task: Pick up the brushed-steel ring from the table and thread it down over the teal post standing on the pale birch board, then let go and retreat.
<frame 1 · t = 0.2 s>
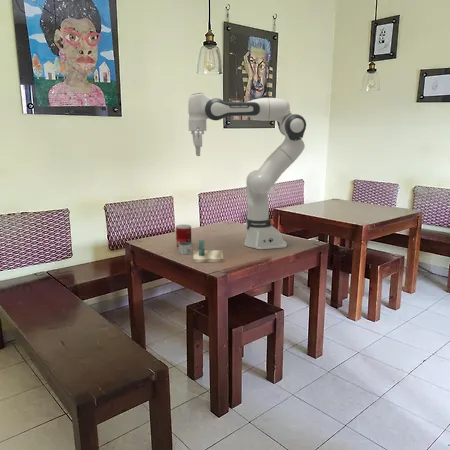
hand: (198, 155, 209), 47 cm above the table, fingers open, 8 cm apart
piston stand: (208, 257, 200), on the table
steel ring: (185, 252, 209), on the table
canned food: (184, 246, 220), on the table
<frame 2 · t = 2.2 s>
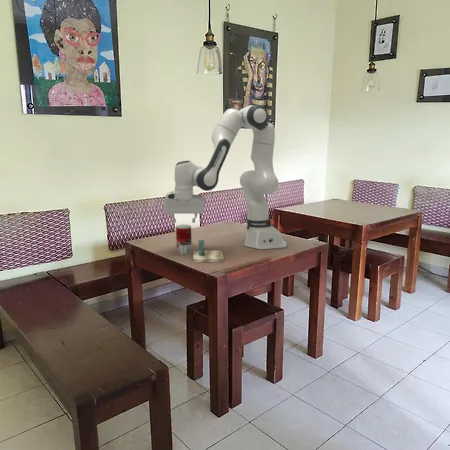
hand: (184, 222, 205), 15 cm above the table, fingers open, 8 cm apart
nothing on the table moved.
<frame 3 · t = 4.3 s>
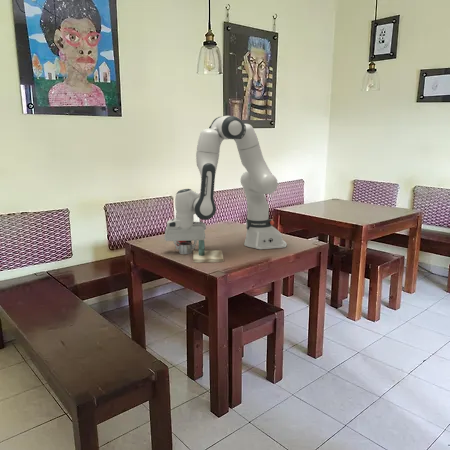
hand: (185, 248, 209), 2 cm above the table, fingers closed on steel ring, 6 cm apart
steel ring: (185, 252, 209), on the table, touching gripper
everything else where it was.
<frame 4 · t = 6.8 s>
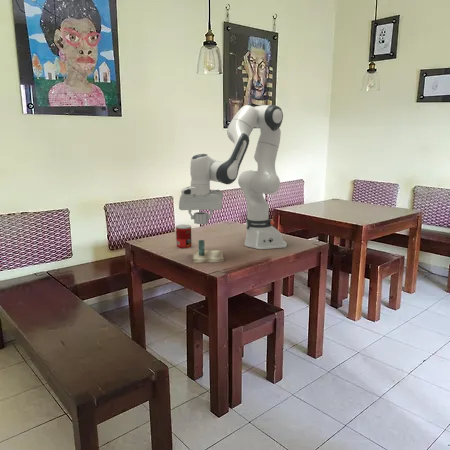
hand: (200, 219, 196), 19 cm above the table, fingers closed on steel ring, 6 cm apart
steel ring: (200, 222, 196), point 17 cm above the table, touching gripper
everything else where it was.
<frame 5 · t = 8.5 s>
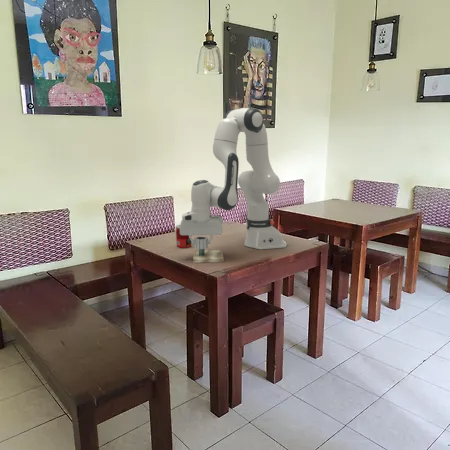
hand: (201, 243, 198), 7 cm above the table, fingers closed on steel ring, 6 cm apart
steel ring: (201, 247, 198), point 5 cm above the table, touching gripper
everything else where it was.
when the fingers open (6 cm above the table, at t = 9.6 s): steel ring drops 3 cm, resting on piston stand.
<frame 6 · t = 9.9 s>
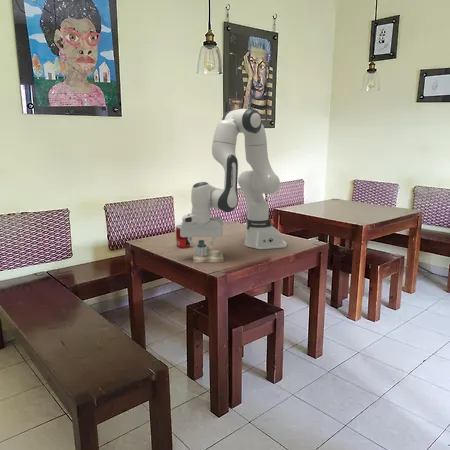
hand: (201, 245, 198), 6 cm above the table, fingers open, 8 cm apart
steel ring: (201, 254, 199), point 1 cm above the table, touching piston stand
everything else where it was.
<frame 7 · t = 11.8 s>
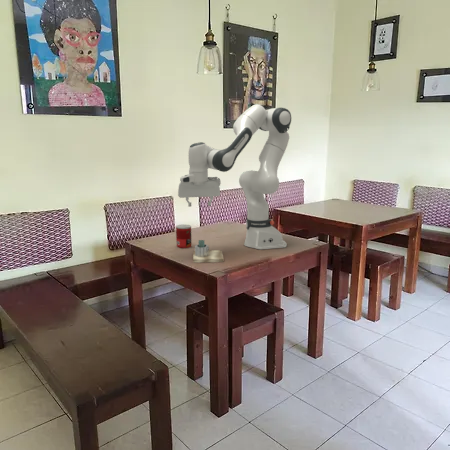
hand: (199, 205, 202), 24 cm above the table, fingers open, 8 cm apart
nothing on the table moved.
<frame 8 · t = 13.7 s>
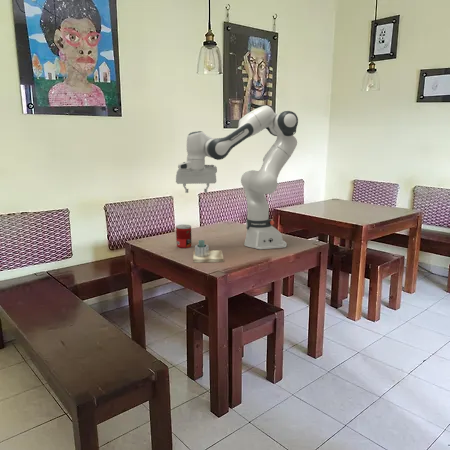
hand: (196, 192, 210), 29 cm above the table, fingers open, 8 cm apart
nothing on the table moved.
at the end: steel ring 0.1 cm from the target spot on the piston stand, point 1.5 cm above the piston stand's base; the gripper is holding nothing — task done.
